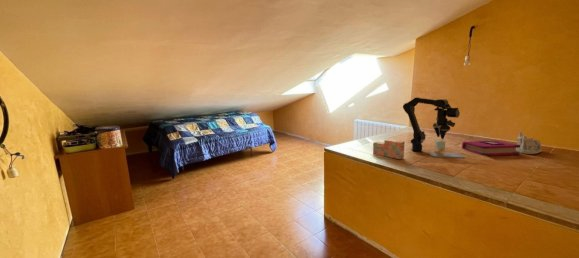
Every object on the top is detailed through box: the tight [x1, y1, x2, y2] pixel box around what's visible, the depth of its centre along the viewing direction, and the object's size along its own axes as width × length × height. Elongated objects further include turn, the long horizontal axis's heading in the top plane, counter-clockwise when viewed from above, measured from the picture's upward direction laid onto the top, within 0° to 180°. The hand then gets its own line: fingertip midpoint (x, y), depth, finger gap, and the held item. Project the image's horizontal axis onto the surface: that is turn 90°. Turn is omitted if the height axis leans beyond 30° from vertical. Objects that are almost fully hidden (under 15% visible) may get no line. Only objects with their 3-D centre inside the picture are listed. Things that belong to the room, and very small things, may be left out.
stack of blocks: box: [372, 138, 405, 160], centre depth 181 cm, size 21×6×12 cm, turn 40°
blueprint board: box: [427, 151, 466, 159], centre depth 178 cm, size 20×12×1 cm, turn 74°
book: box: [461, 140, 520, 157], centre depth 186 cm, size 21×28×8 cm
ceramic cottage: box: [516, 131, 543, 155], centre depth 182 cm, size 16×16×15 cm
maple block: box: [434, 146, 446, 155], centre depth 179 cm, size 5×5×5 cm
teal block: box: [434, 139, 446, 150], centre depth 178 cm, size 5×5×5 cm
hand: (440, 138), depth 178 cm, fingers open, 9 cm apart
